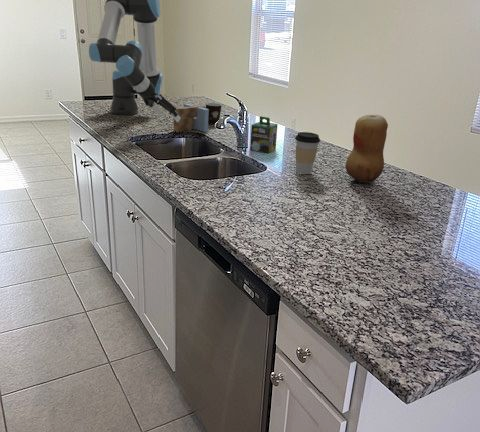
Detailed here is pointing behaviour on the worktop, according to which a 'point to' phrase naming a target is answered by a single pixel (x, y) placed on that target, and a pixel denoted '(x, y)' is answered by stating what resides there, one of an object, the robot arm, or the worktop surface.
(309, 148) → the coffee cup
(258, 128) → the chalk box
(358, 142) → the butternut squash
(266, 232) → the worktop surface
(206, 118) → the slate-blue board
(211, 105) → the coffee mug
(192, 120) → the walnut board
